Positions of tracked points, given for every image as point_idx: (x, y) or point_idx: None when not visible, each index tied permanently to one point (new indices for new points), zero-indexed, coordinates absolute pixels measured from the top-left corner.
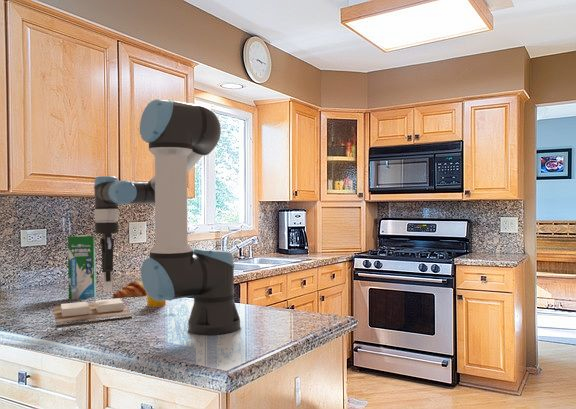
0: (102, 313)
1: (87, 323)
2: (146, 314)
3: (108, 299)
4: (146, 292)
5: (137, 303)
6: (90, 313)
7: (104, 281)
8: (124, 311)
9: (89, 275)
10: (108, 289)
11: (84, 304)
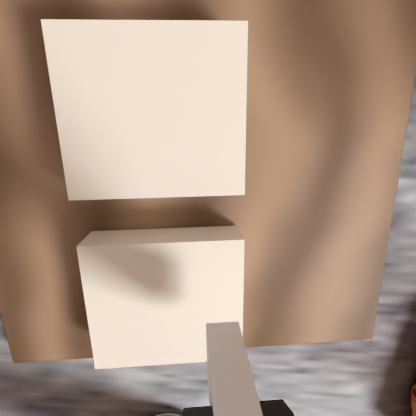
0: None
1: None
2: (87, 397)
3: (237, 308)
4: None
5: (327, 386)
6: None
7: (211, 395)
8: (85, 339)
9: None
10: (207, 359)
11: (148, 175)
